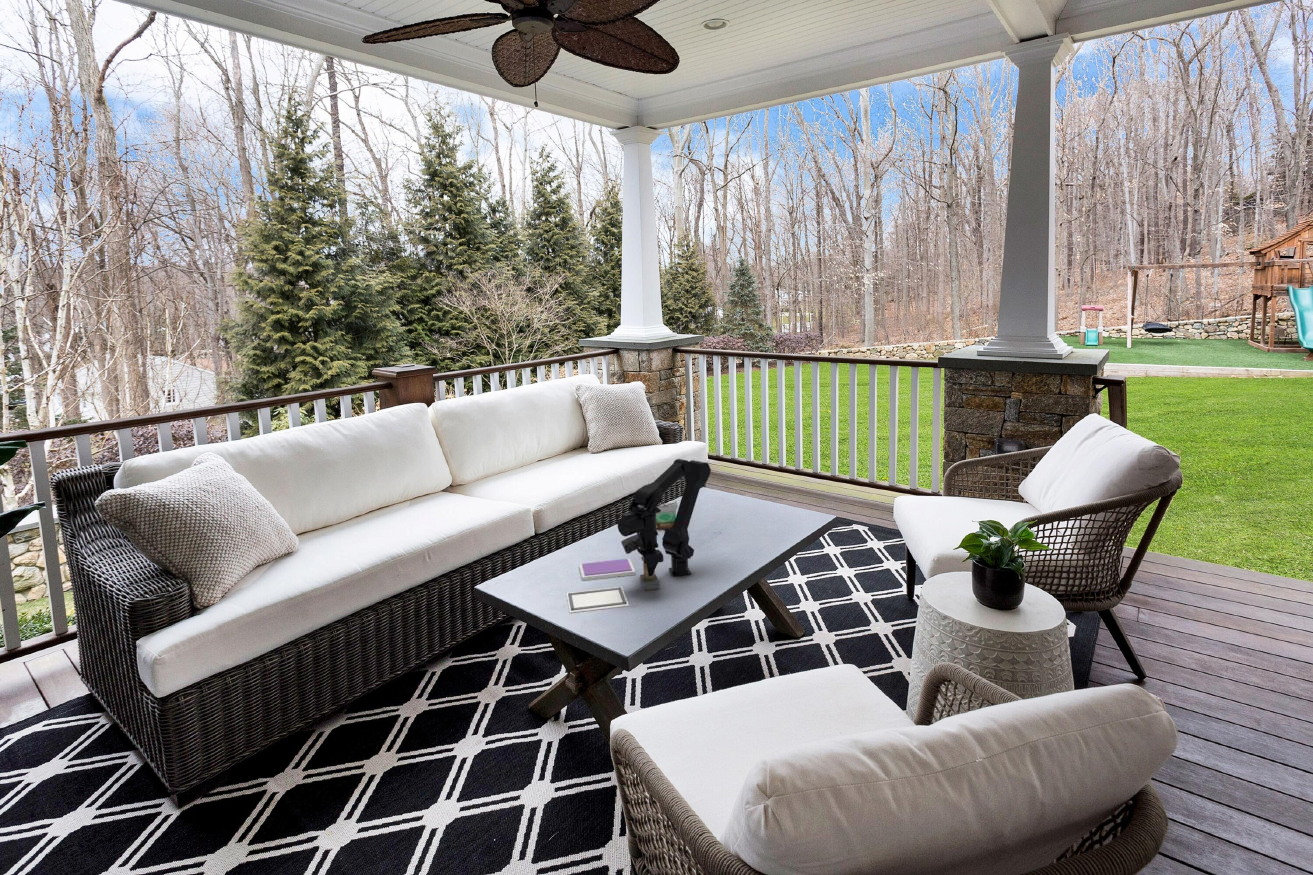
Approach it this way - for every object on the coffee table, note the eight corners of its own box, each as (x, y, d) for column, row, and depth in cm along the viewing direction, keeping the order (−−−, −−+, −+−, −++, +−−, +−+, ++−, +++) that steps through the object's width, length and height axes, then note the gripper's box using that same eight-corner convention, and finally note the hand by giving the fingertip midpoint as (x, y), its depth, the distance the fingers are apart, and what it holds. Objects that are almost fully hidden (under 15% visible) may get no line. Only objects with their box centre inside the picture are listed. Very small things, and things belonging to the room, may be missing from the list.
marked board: (566, 593, 220) (566, 592, 220) (622, 587, 224) (621, 585, 224) (569, 613, 207) (569, 611, 207) (628, 606, 210) (628, 604, 210)
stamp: (640, 581, 227) (639, 556, 226) (655, 580, 228) (654, 554, 227) (644, 590, 221) (643, 564, 219) (659, 588, 222) (658, 562, 220)
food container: (655, 532, 274) (654, 508, 272) (649, 528, 279) (648, 504, 277) (683, 528, 278) (682, 504, 276) (677, 523, 284) (676, 500, 282)
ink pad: (579, 567, 242) (578, 562, 241) (629, 561, 245) (629, 557, 245) (582, 580, 230) (582, 576, 230) (635, 574, 234) (635, 570, 233)
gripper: (618, 521, 228) (620, 565, 231) (627, 540, 210) (629, 588, 213) (651, 518, 230) (653, 561, 233) (663, 536, 212) (664, 584, 215)
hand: (649, 573), depth 224 cm, fingers closed on stamp, 4 cm apart
